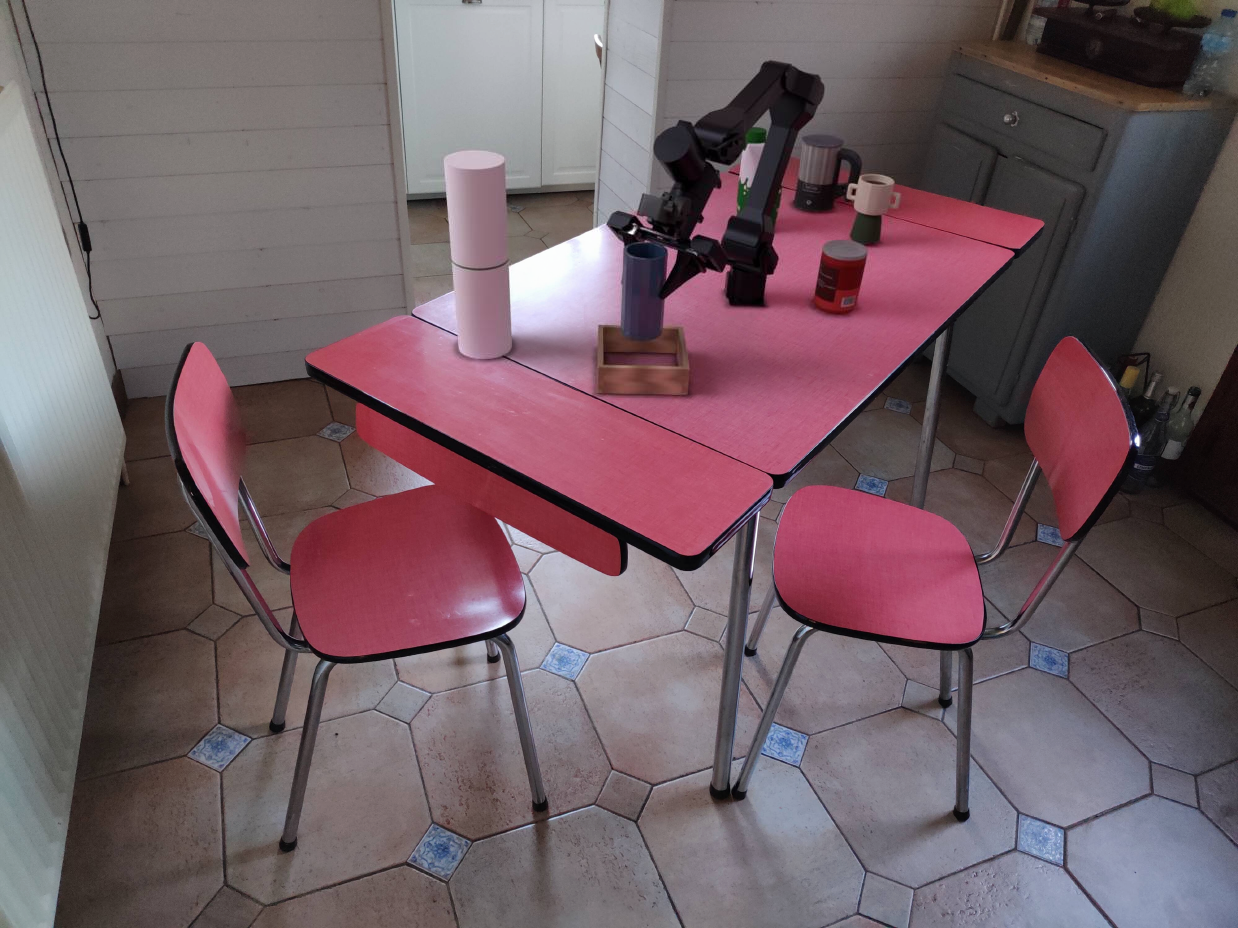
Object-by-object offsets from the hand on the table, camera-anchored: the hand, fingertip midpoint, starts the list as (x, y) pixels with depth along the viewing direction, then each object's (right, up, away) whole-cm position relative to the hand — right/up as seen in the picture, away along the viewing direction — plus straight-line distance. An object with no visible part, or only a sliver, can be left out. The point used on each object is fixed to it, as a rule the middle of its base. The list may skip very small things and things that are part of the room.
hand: (641, 292), depth 132 cm
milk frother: (+44, +35, +73) cm, 92 cm away
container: (-25, -7, +13) cm, 29 cm away
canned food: (+36, +3, +29) cm, 46 cm away
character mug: (+48, +21, +55) cm, 76 cm away
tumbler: (0, -5, +4) cm, 7 cm away
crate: (0, -11, +8) cm, 13 cm away
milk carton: (+26, +26, +60) cm, 70 cm away
